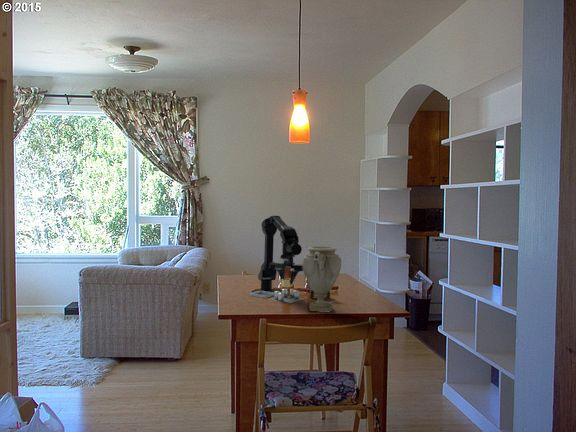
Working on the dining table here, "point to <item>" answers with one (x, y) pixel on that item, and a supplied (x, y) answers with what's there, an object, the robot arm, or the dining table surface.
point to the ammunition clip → (313, 296)
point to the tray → (262, 295)
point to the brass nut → (286, 282)
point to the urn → (321, 274)
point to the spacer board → (288, 299)
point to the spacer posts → (283, 294)
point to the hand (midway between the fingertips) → (287, 283)
